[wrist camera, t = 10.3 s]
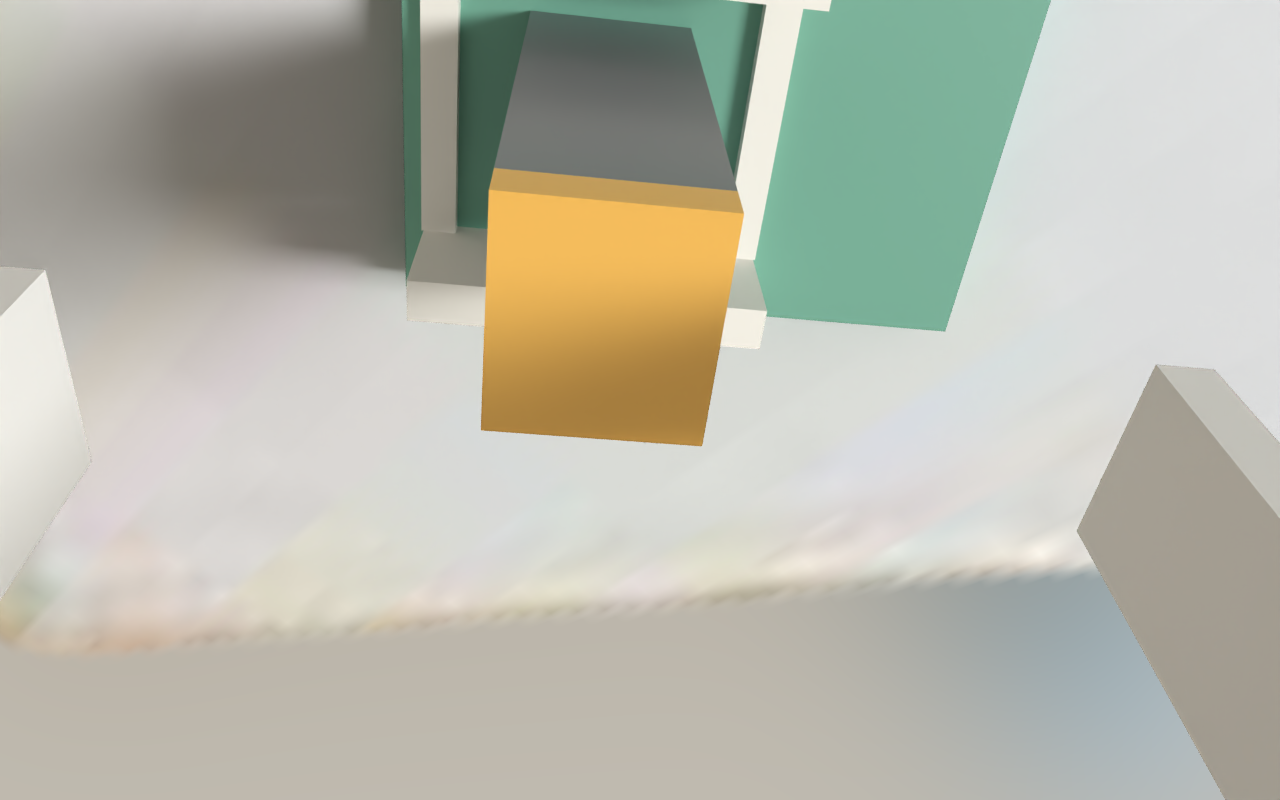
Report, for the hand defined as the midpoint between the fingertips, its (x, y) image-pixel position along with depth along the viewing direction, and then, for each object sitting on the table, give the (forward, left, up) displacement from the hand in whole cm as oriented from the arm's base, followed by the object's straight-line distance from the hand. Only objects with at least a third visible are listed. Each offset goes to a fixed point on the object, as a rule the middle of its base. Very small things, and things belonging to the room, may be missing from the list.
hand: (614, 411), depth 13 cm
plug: (0, 0, -13) cm, 13 cm away
